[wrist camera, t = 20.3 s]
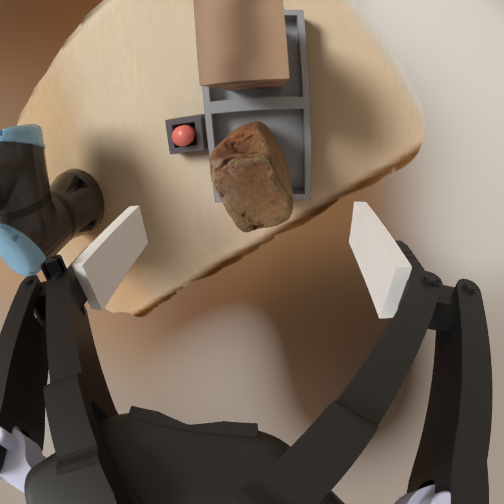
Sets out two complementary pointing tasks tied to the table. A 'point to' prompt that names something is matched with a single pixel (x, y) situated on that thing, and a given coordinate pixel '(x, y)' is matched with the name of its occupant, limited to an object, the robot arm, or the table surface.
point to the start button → (184, 134)
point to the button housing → (200, 134)
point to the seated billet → (241, 44)
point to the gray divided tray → (272, 110)
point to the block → (252, 177)
